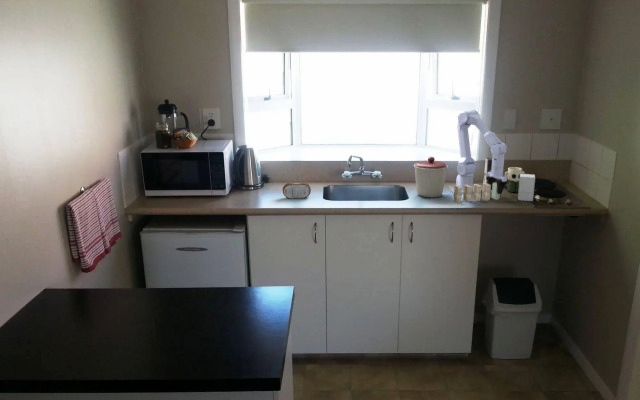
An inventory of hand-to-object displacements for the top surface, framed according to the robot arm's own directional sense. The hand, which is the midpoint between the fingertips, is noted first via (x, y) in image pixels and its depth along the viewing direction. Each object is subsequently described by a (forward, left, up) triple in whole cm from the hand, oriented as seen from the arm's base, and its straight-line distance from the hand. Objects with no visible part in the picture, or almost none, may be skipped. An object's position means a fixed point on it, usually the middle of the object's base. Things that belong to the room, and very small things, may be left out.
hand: (495, 191), depth 271 cm
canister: (-15, -30, -4) cm, 34 cm away
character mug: (-9, +17, -4) cm, 20 cm away
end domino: (0, 0, -3) cm, 3 cm away
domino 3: (0, -11, -3) cm, 12 cm away
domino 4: (0, -6, -3) cm, 6 cm away
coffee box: (-23, +13, -4) cm, 27 cm away
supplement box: (+6, +14, -4) cm, 16 cm away
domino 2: (0, -16, -3) cm, 17 cm away
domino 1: (0, -22, -3) cm, 22 cm away
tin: (-31, -100, -4) cm, 105 cm away
